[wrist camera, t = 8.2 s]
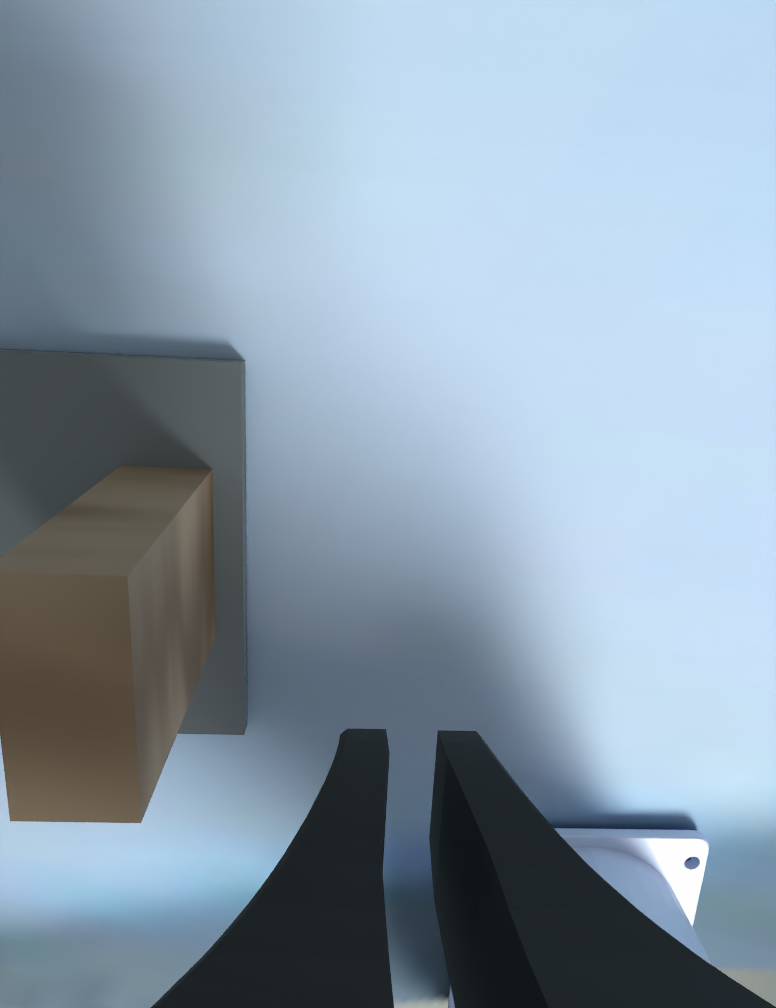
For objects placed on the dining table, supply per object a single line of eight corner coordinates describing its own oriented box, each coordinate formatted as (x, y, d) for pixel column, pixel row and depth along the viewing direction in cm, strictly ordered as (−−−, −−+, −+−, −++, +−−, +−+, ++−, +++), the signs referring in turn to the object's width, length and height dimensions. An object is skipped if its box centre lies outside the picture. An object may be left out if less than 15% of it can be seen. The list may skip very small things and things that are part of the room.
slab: (215, 638, 21) (140, 822, 14) (126, 636, 21) (4, 821, 14) (212, 469, 20) (127, 575, 12) (117, 465, 19) (-25, 571, 12)
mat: (247, 723, 22) (244, 734, 22) (-124, 715, 22) (-137, 726, 21) (245, 360, 19) (241, 362, 19) (-188, 340, 19) (-204, 342, 18)
